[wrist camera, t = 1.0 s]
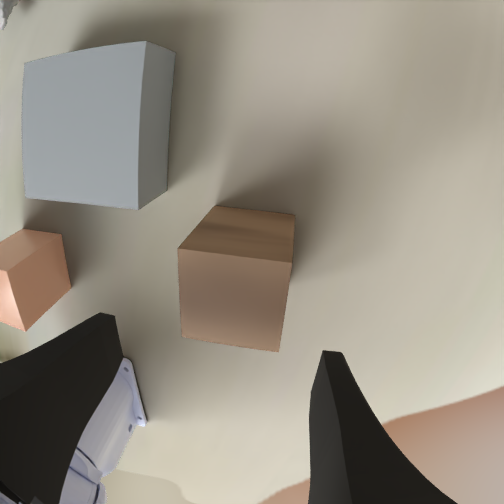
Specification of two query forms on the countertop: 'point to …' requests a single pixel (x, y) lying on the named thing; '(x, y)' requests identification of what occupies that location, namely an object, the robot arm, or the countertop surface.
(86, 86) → the slate base block
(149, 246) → the countertop surface
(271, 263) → the walnut block
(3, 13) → the packaged food
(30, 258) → the terracotta block
